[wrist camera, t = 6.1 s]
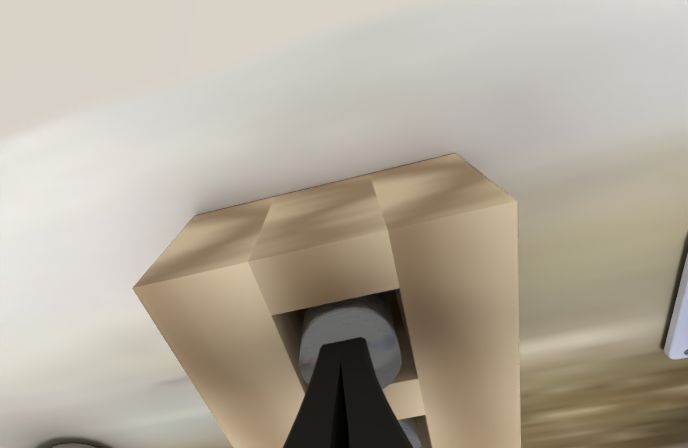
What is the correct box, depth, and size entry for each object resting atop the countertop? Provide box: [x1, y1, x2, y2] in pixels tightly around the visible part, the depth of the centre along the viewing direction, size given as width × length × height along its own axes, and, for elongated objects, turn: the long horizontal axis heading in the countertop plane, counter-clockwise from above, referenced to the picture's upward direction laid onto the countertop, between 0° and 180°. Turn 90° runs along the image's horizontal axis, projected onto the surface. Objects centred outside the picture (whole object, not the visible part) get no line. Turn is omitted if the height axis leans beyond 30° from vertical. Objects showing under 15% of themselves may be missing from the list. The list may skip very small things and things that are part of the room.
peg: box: [299, 291, 402, 389], centre depth 13 cm, size 3×3×5 cm
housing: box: [133, 153, 521, 448], centre depth 15 cm, size 11×13×5 cm
